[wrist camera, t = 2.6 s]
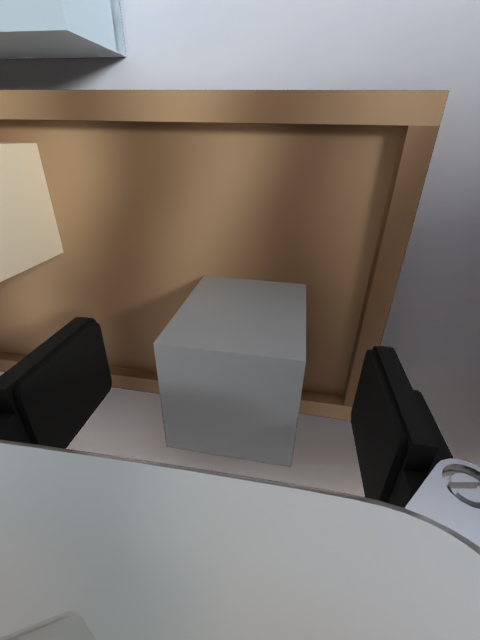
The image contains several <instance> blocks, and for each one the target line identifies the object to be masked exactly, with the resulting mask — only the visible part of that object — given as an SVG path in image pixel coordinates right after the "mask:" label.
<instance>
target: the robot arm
mask: <svg viewBox="0 0 480 640" xmlns="http://www.w3.org/2000/svg"><path fill="white" fill-rule="evenodd" d="M111 386H112V379H111V374H110V369H109V365H108V360H107V355H106V350H105V346H104V341H103V336H102V331H101V327H100V324H99V323H97V322H96V320H95V319H93V318H87V317H75V318H74V319H73V320H71V321H70V322H69V323H68V324H66V325H65V326H64V327H62V328H61V329H60V330H59V331H57V332H56V333H55V334H53V335H52V336H51V337H50V338H48V339H47V340H46V341H45V342H43V343H42V344H41V345H39V346H38V347H37V348H36V349H34V350H33V351H32V352H31V353H29V354H28V355H27V356H25V357H24V358H23V359H22V360H20V361H19V362H18V363H16V364H15V365H14V366H13V367H11V368H10V369H9V370H8V371H6V372H5V373H4V374H2V375H1V376H0V640H480V467H478V466H476V465H474V464H472V463H470V462H467V461H464V460H461V459H453V457H452V455H451V453H450V451H449V449H448V447H447V445H446V443H445V440H444V438H443V436H442V434H441V432H440V430H439V428H438V426H437V424H436V422H435V420H434V418H433V416H432V414H431V412H430V410H429V408H428V406H427V404H426V402H425V400H424V398H423V396H422V394H421V393H420V392H419V391H417V390H413V389H412V387H411V385H410V382H409V380H408V378H407V376H406V374H405V372H404V369H403V367H402V365H401V363H400V361H399V359H398V356H397V354H396V352H395V350H394V348H392V347H382V346H374V347H373V349H372V350H367V351H366V354H365V358H364V362H363V366H362V370H361V374H360V378H359V382H358V386H357V390H356V394H355V398H354V402H353V406H352V410H351V424H352V429H353V434H354V440H355V445H356V450H357V456H358V461H359V466H360V471H361V477H362V482H363V487H364V493H365V497H360V496H355V495H351V494H346V493H340V492H335V491H329V490H323V489H318V488H312V487H306V486H301V485H295V484H289V483H283V482H277V481H271V480H264V479H258V478H252V477H246V476H239V475H233V474H227V473H221V472H214V471H208V470H202V469H195V468H189V467H182V466H176V465H169V464H163V463H157V462H150V461H143V460H137V459H130V458H124V457H117V456H111V455H104V454H97V453H91V452H84V451H77V450H70V449H66V448H67V446H68V445H69V444H70V442H71V441H72V440H73V438H74V437H75V436H76V435H77V433H78V432H79V431H80V429H81V428H82V427H83V425H84V424H85V423H86V421H87V420H88V419H89V417H90V416H91V415H92V413H93V412H94V411H95V410H96V408H97V407H98V406H99V404H100V403H101V402H102V400H103V399H104V398H105V396H106V395H107V394H108V392H109V391H110V389H111Z"/></svg>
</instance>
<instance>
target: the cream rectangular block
mask: <svg viewBox="0 0 480 640" xmlns="http://www.w3.org/2000/svg"><path fill="white" fill-rule="evenodd" d="M62 253H64V251H63V247H62V243H61V239H60V235H59V231H58V227H57V223H56V219H55V215H54V211H53V207H52V203H51V199H50V195H49V191H48V187H47V183H46V179H45V175H44V171H43V167H42V163H41V159H40V155H39V151H38V147H37V143H13V142H0V282H2V281H4V280H6V279H8V278H10V277H12V276H15V275H17V274H19V273H21V272H23V271H25V270H27V269H29V268H32V267H34V266H36V265H38V264H40V263H42V262H44V261H47V260H49V259H51V258H53V257H55V256H57V255H59V254H62Z"/></svg>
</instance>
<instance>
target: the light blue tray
mask: <svg viewBox="0 0 480 640" xmlns="http://www.w3.org/2000/svg"><path fill="white" fill-rule="evenodd" d="M81 57H126V53H125V44H124V36H123V28H122V19H121V11H120V2H119V0H0V59H9V58H81Z"/></svg>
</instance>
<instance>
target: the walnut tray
mask: <svg viewBox="0 0 480 640" xmlns="http://www.w3.org/2000/svg"><path fill="white" fill-rule="evenodd" d="M448 93H449V91H446V90H0V142H13V143H37V147H38V151H39V155H40V159H41V163H42V167H43V171H44V175H45V179H46V183H47V187H48V191H49V195H50V199H51V203H52V207H53V211H54V215H55V219H56V223H57V227H58V231H59V235H60V239H61V243H62V247H63V251H64V253H62V254H59V255H57V256H55V257H53V258H51V259H49V260H47V261H44V262H42V263H40V264H38V265H36V266H34V267H32V268H29V269H27V270H25V271H23V272H21V273H19V274H17V275H15V276H12V277H10V278H8V279H6V280H4V281H2V282H0V371H2V372H6V371H8V370H9V369H10V368H11V367H13V366H14V365H15V364H16V363H18V362H19V361H20V360H22V359H23V358H24V357H25V356H27V355H28V354H29V353H31V352H32V351H33V350H34V349H36V348H37V347H38V346H39V345H41V344H42V343H43V342H45V341H46V340H47V339H48V338H50V337H51V336H52V335H53V334H55V333H56V332H57V331H59V330H60V329H61V328H62V327H64V326H65V325H66V324H68V323H69V322H70V321H71V320H73V319H74V318H75V317H87V318H93V319H95V320H96V322H97V323H99V324H100V327H101V331H102V336H103V341H104V346H105V350H106V355H107V360H108V365H109V369H110V374H111V379H112V386H111V387H115V388H122V389H129V390H136V391H143V392H151V393H158V394H160V391H159V383H158V375H157V368H156V360H155V352H154V344H153V343H154V342H155V340H156V339H157V338H158V336H159V335H160V334H161V332H162V331H163V330H164V328H165V327H166V326H167V324H168V323H169V322H170V320H171V319H172V318H173V316H174V315H175V314H176V312H177V311H178V310H179V308H180V307H181V306H182V304H183V303H184V302H185V300H186V299H187V298H188V296H189V295H190V294H191V292H192V291H193V290H194V288H195V287H196V286H197V284H198V283H199V282H200V280H201V279H202V278H203V276H214V277H226V278H238V279H249V280H261V281H273V282H285V283H296V284H306V365H305V372H304V379H303V386H302V393H301V400H300V407H299V414H307V415H314V416H321V417H328V418H335V419H342V420H349V421H351V410H352V406H353V402H354V398H355V394H356V390H357V386H358V382H359V378H360V374H361V370H362V366H363V362H364V358H365V354H366V351H367V350H372V349H373V347H374V346H380V344H381V340H382V336H383V333H384V329H385V325H386V322H387V318H388V314H389V311H390V307H391V303H392V300H393V296H394V292H395V289H396V285H397V281H398V277H399V274H400V270H401V266H402V263H403V259H404V255H405V252H406V248H407V244H408V241H409V237H410V233H411V230H412V226H413V222H414V219H415V215H416V211H417V208H418V204H419V200H420V196H421V193H422V189H423V185H424V182H425V178H426V174H427V171H428V167H429V163H430V160H431V156H432V152H433V149H434V145H435V141H436V138H437V134H438V130H439V127H440V123H441V119H442V115H443V112H444V108H445V104H446V101H447V97H448Z"/></svg>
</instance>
